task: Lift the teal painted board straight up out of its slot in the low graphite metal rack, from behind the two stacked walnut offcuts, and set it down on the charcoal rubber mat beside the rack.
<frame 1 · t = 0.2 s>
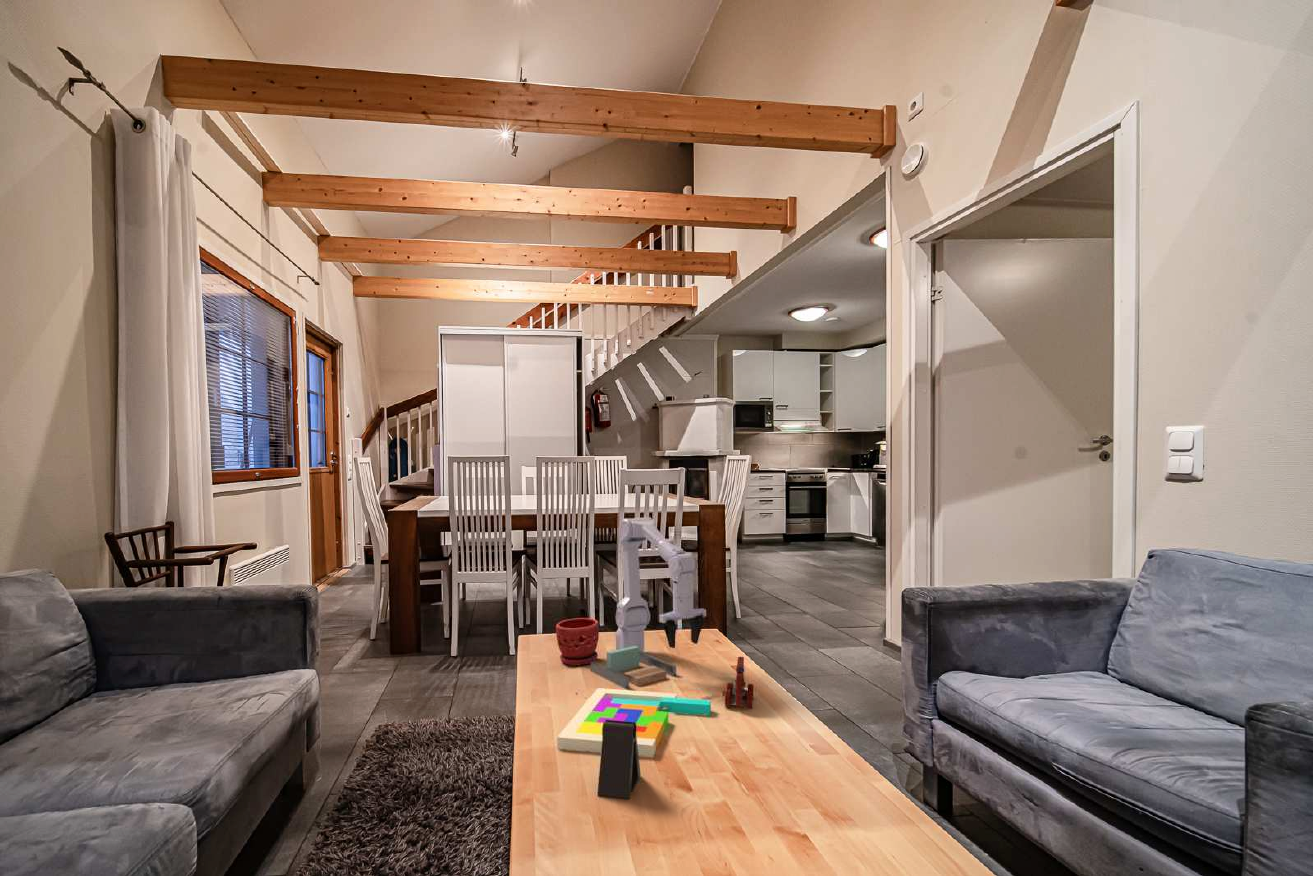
hand: (683, 645, 179), 10 cm above the table, tool pointing down, fingers open, 7 cm apart
plant pot: (577, 662, 196), on the table
mat: (671, 668, 189), on the table
teal board: (623, 673, 185), resting in rack
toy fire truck: (739, 704, 161), on the table
rack: (632, 678, 181), on the table
puzzle game: (640, 729, 148), on the table
offcut lower: (645, 686, 176), on the table, touching offcut upper
phone stand: (619, 787, 121), on the table
offcut upper: (645, 679, 176), point 1 cm above the table, touching offcut lower
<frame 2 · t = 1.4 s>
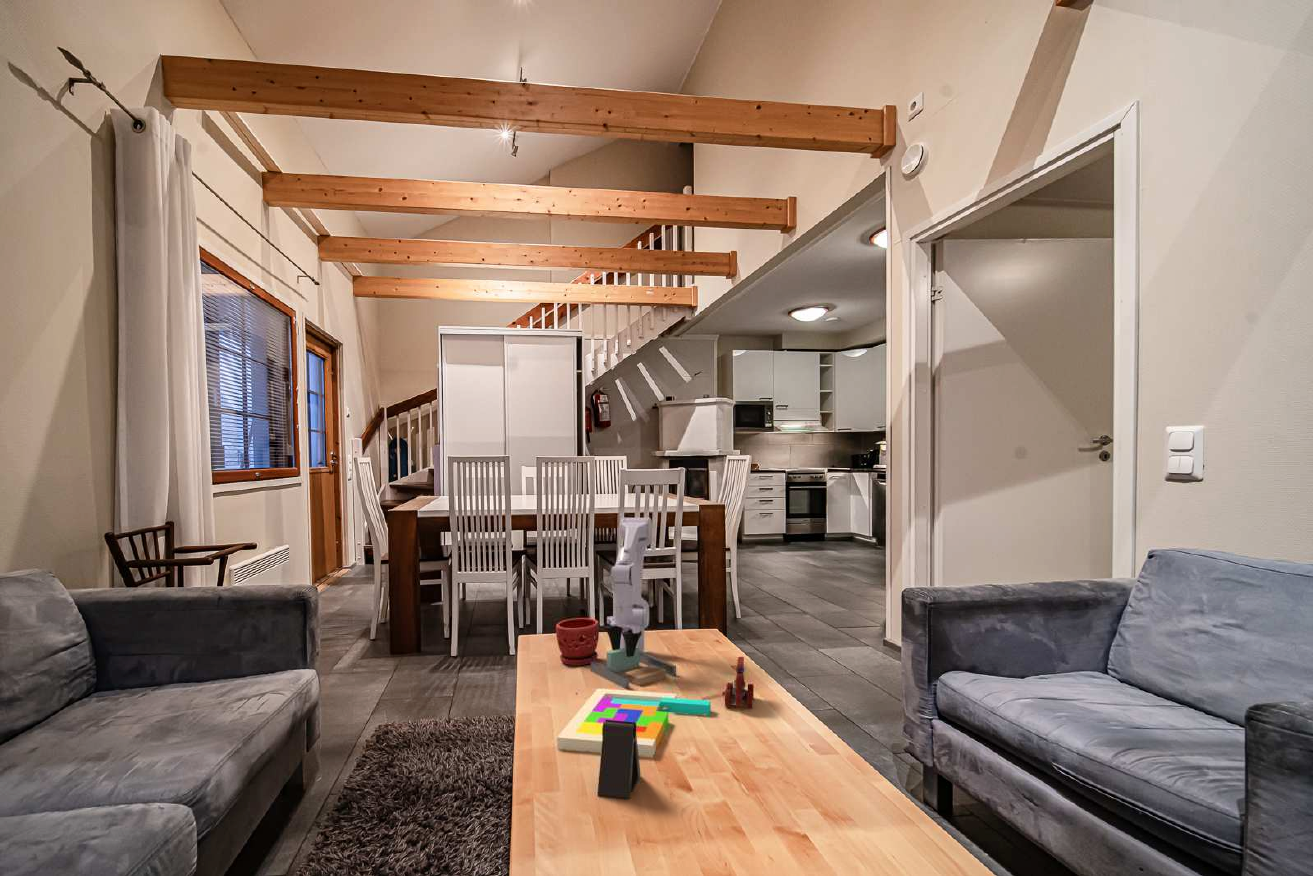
hand: (623, 653, 185), 6 cm above the table, tool pointing down, fingers open, 7 cm apart
nothing on the table moved.
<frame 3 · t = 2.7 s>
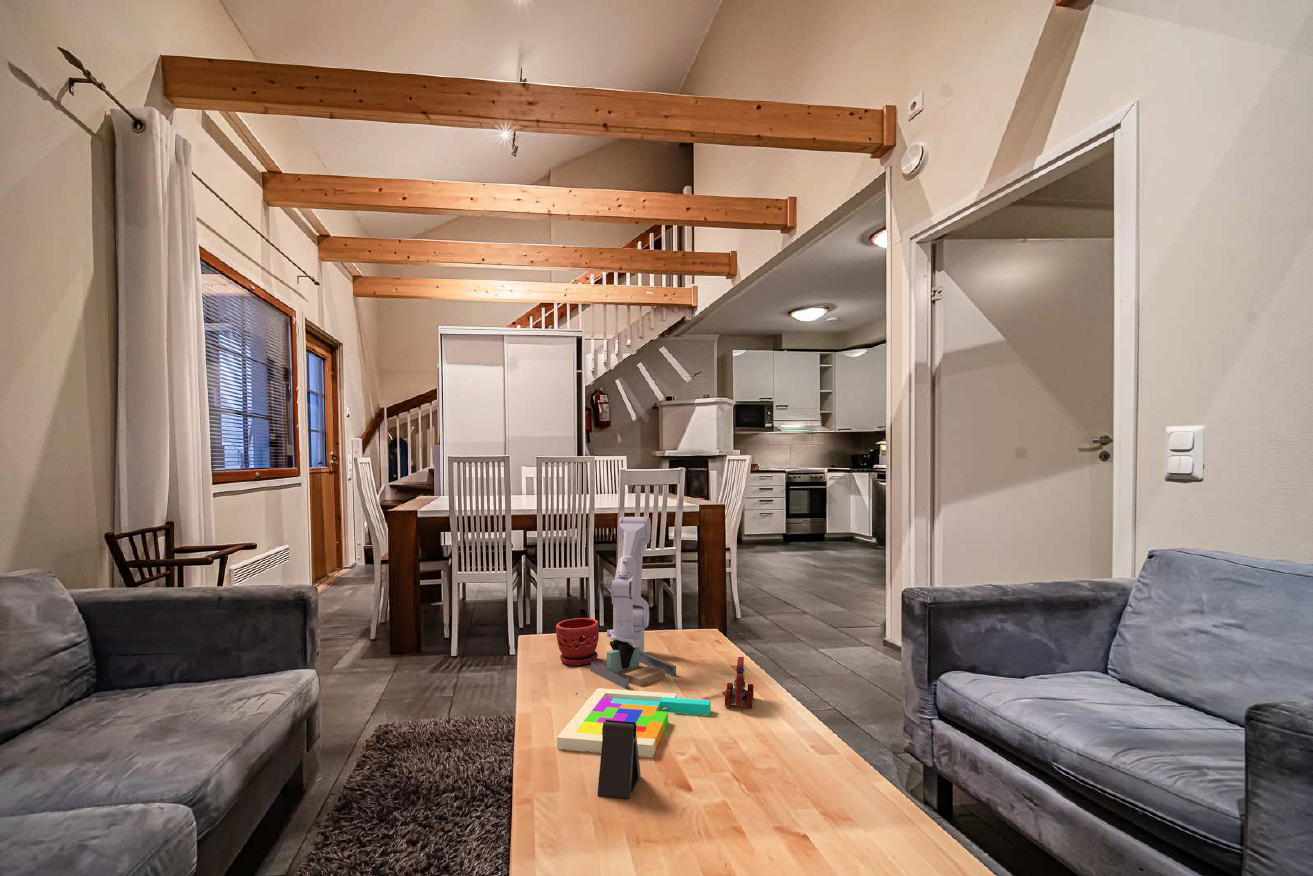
hand: (623, 666, 185), 2 cm above the table, tool pointing down, fingers closed on teal board, 2 cm apart
teal board: (623, 673, 185), resting in rack, touching gripper
everything else where it was.
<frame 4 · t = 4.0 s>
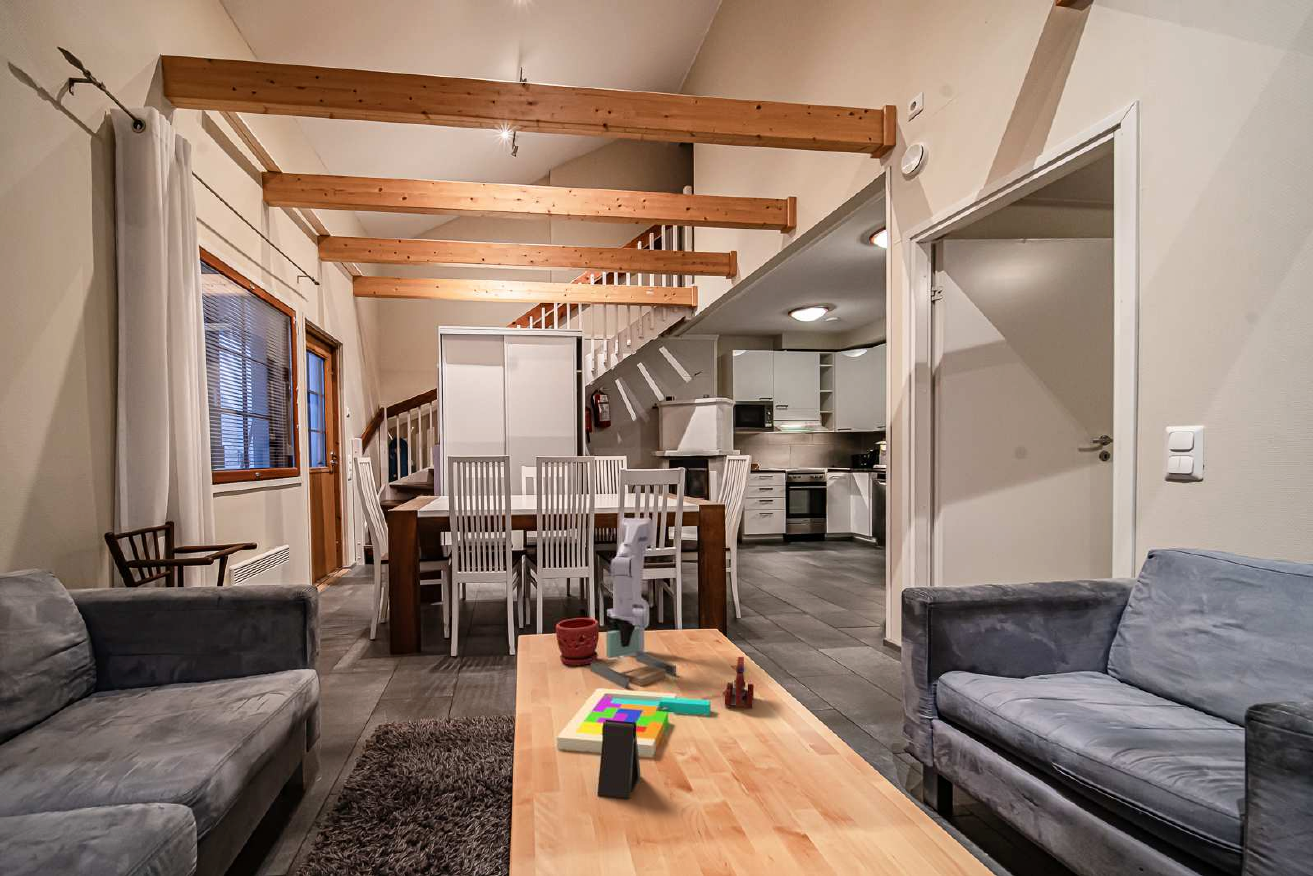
hand: (623, 645, 185), 8 cm above the table, tool pointing down, fingers closed on teal board
teal board: (622, 654, 185), point 6 cm above the table, touching gripper
everything else where it was.
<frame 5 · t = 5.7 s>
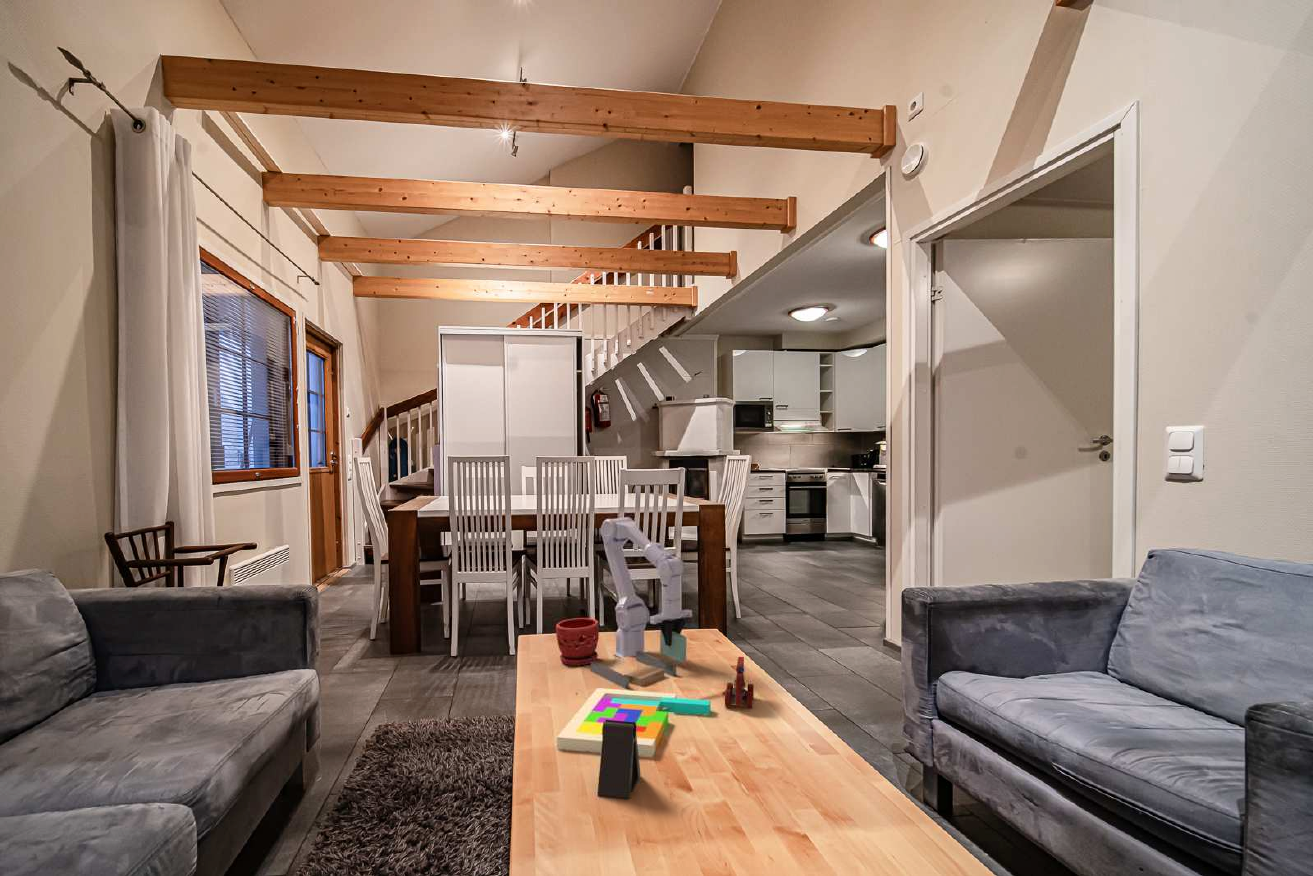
hand: (671, 644, 189), 7 cm above the table, tool pointing down, fingers closed on teal board
teal board: (672, 656, 189), point 4 cm above the table, touching gripper
everything else where it was.
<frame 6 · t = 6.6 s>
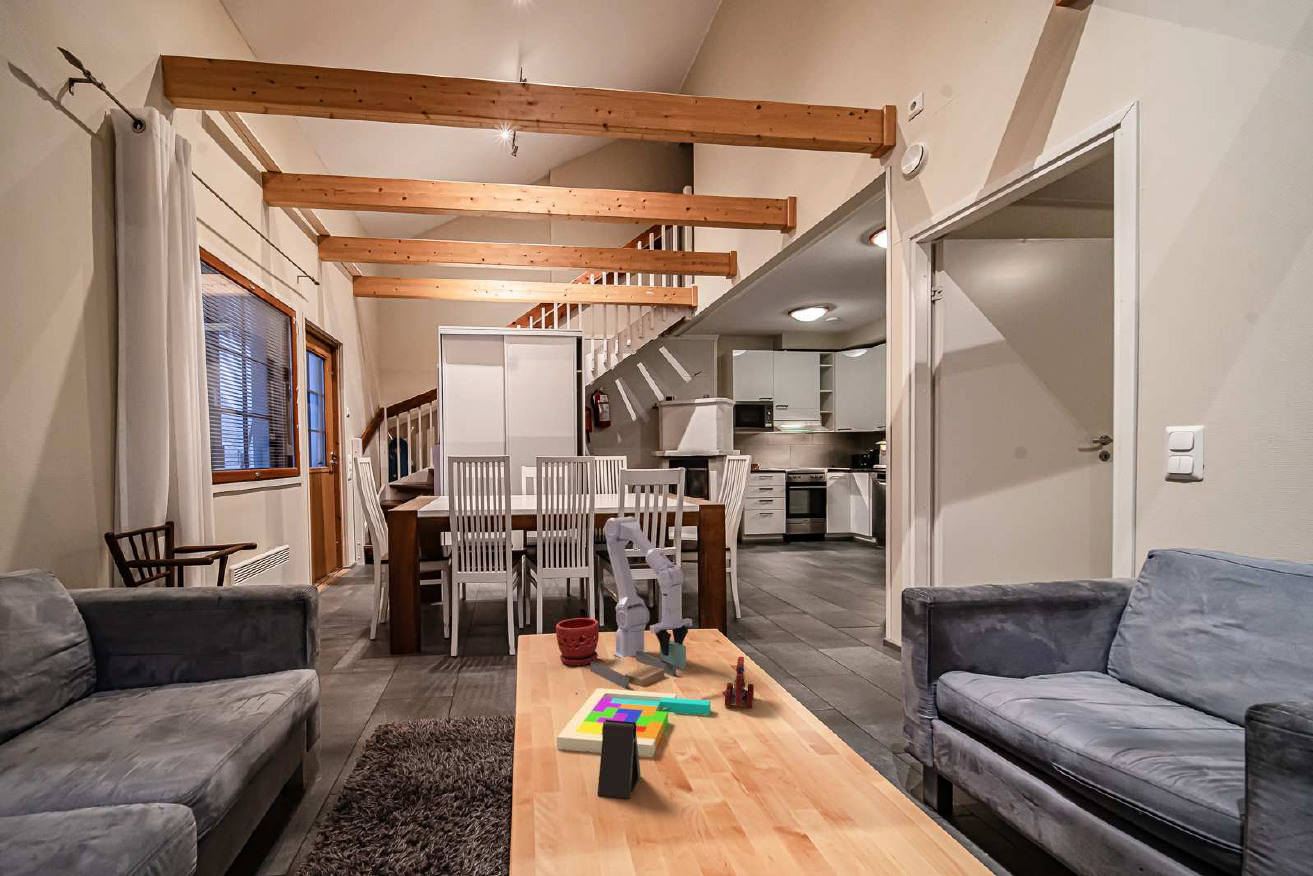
hand: (671, 653, 189), 4 cm above the table, tool pointing down, fingers open, 4 cm apart
teal board: (672, 666, 188), point 1 cm above the table, touching mat
everything else where it was.
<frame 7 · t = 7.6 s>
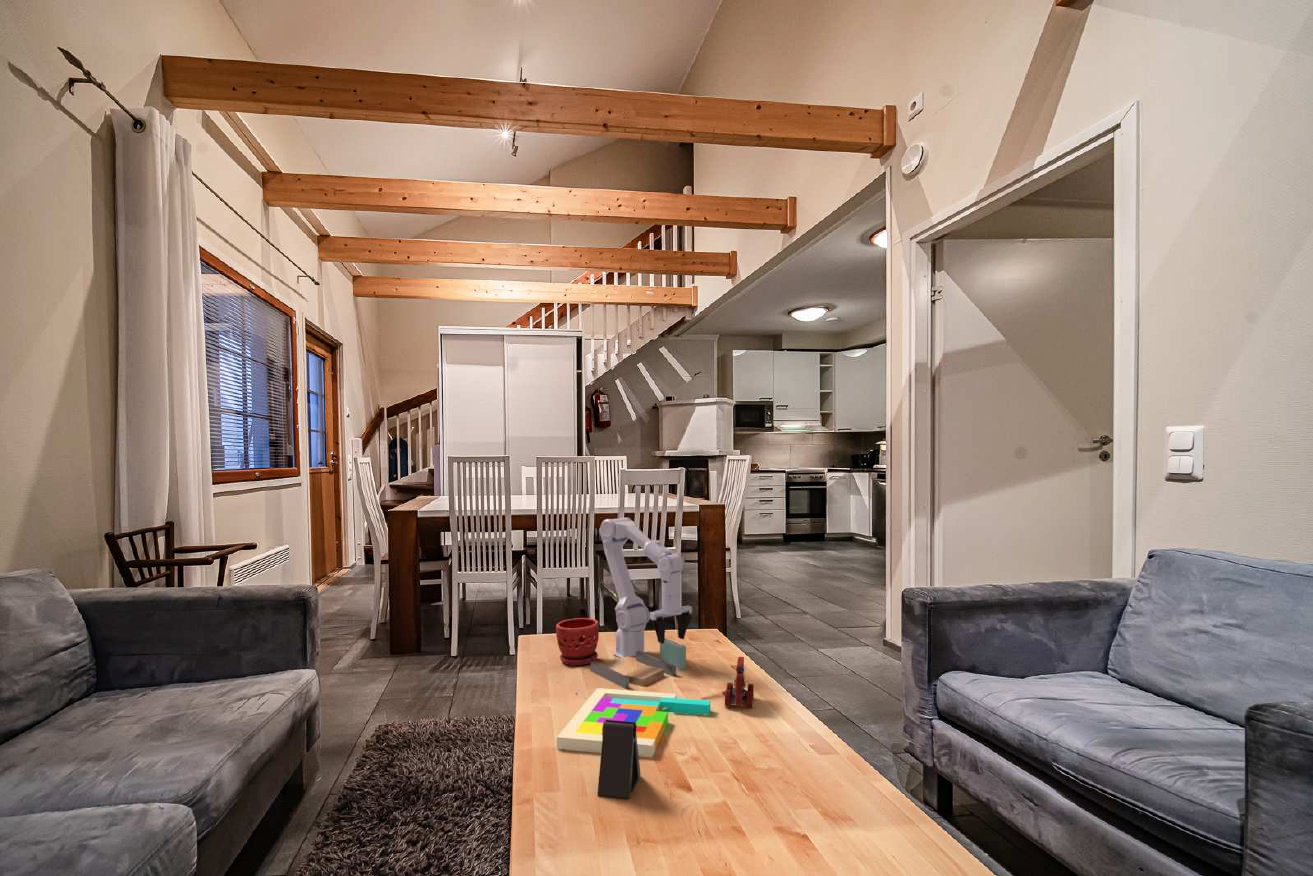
hand: (671, 640, 189), 8 cm above the table, tool pointing down, fingers open, 7 cm apart
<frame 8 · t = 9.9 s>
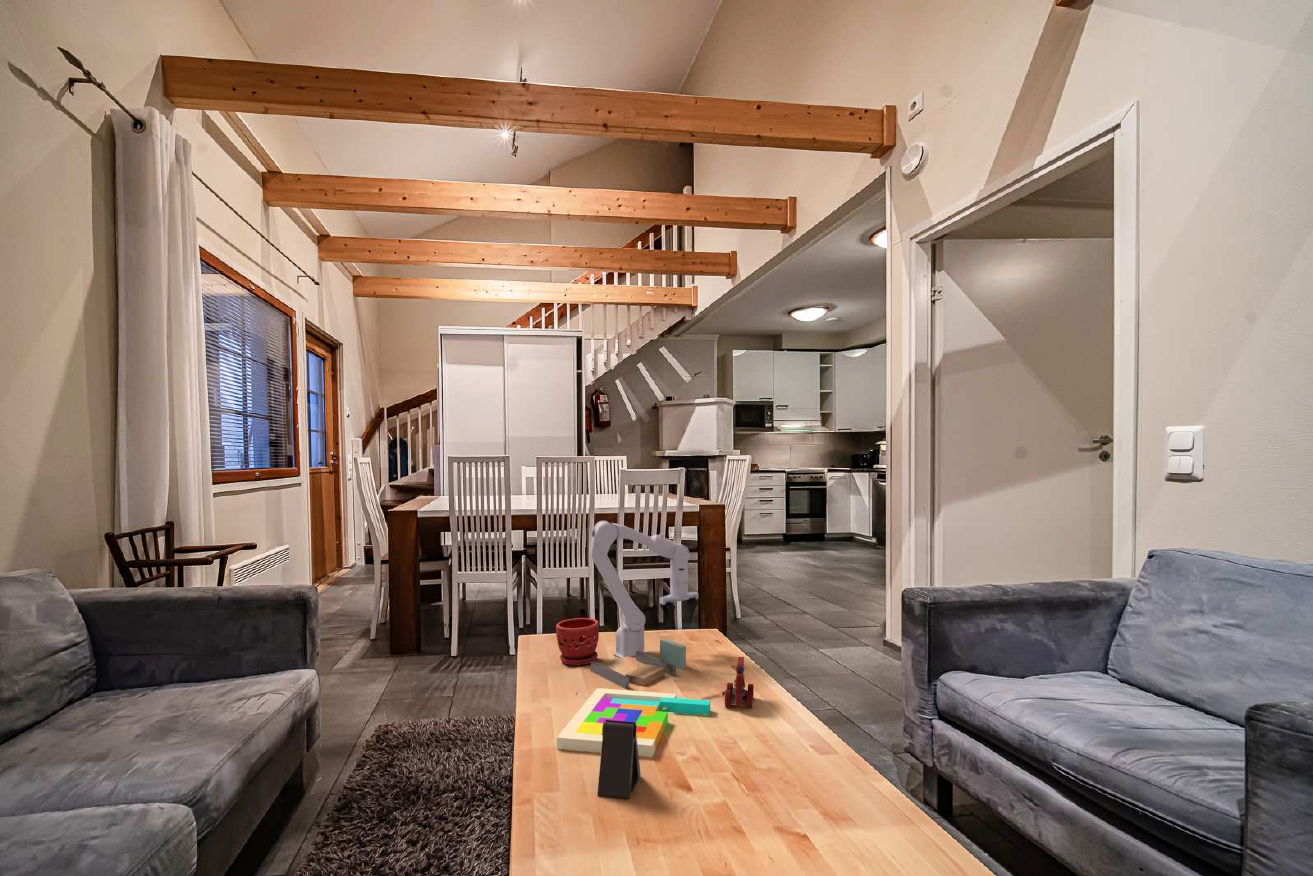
hand: (679, 623, 204), 9 cm above the table, tool pointing down, fingers open, 7 cm apart
at the end: teal board inside the target area (0.5 cm from its centre), point 0.6 cm above the table; the gripper is holding nothing; offcut upper moved 0.6 cm from its start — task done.
